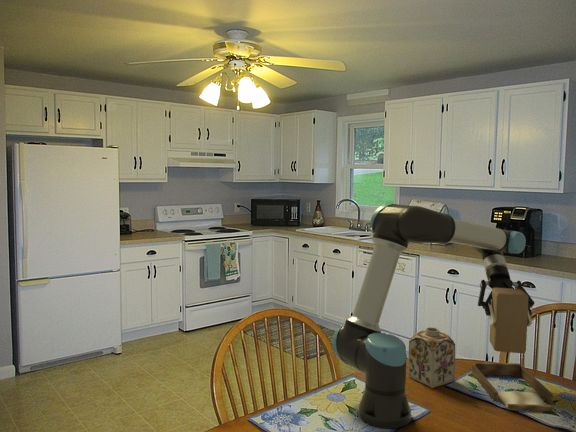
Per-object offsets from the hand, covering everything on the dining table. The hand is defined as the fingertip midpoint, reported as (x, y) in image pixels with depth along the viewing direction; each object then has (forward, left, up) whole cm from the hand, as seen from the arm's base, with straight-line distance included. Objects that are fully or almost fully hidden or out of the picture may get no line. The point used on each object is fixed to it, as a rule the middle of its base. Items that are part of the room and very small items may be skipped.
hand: (511, 324), depth 161 cm
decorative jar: (-25, +5, -22) cm, 34 cm away
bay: (0, -3, -22) cm, 22 cm away
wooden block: (0, +3, -10) cm, 10 cm away
